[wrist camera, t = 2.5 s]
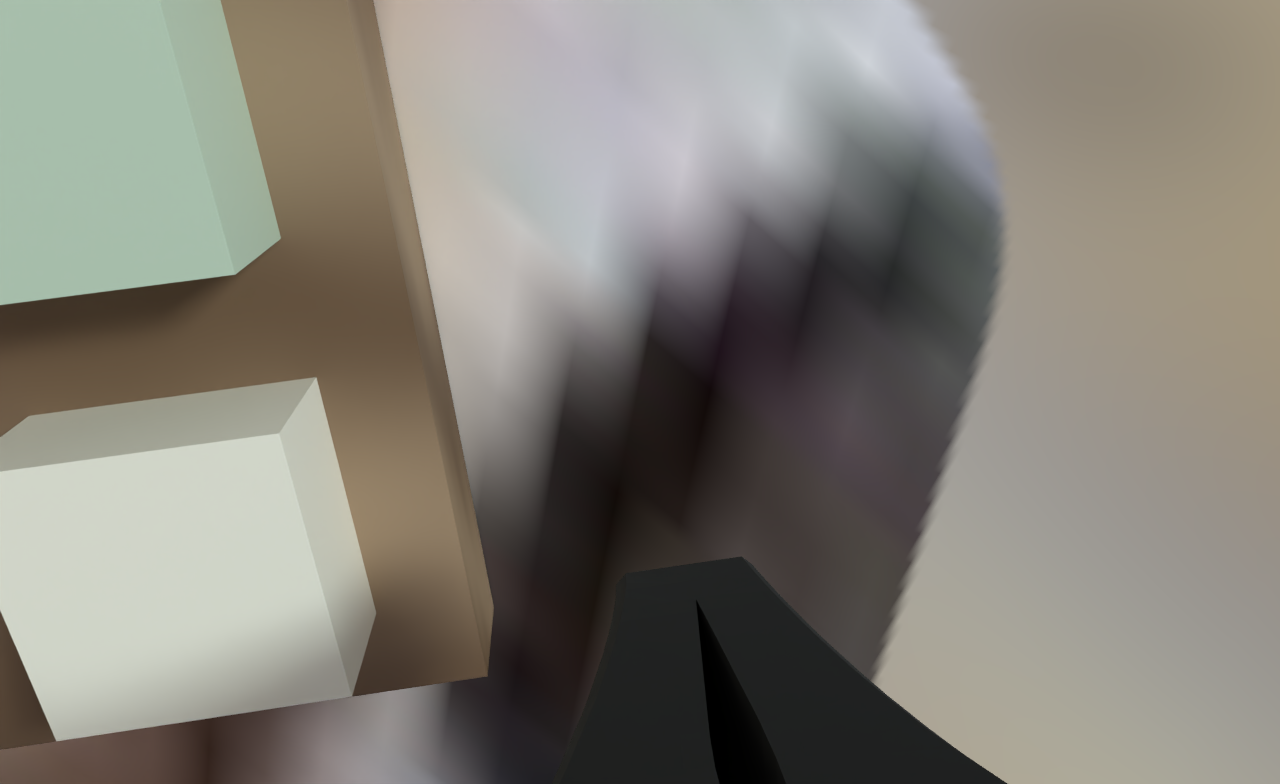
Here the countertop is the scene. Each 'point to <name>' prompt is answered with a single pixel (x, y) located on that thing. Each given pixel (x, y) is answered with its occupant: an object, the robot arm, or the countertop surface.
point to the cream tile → (181, 559)
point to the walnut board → (300, 343)
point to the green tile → (124, 148)
